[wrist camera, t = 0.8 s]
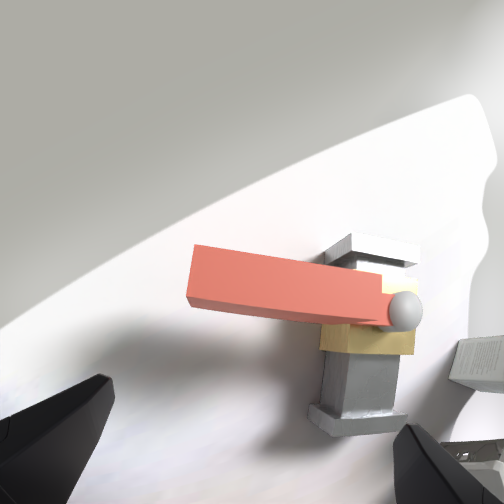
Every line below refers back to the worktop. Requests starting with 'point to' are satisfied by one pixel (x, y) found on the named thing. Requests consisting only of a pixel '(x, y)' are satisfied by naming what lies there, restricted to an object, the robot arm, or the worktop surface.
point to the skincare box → (480, 364)
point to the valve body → (364, 346)
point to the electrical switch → (482, 462)
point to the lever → (296, 291)
